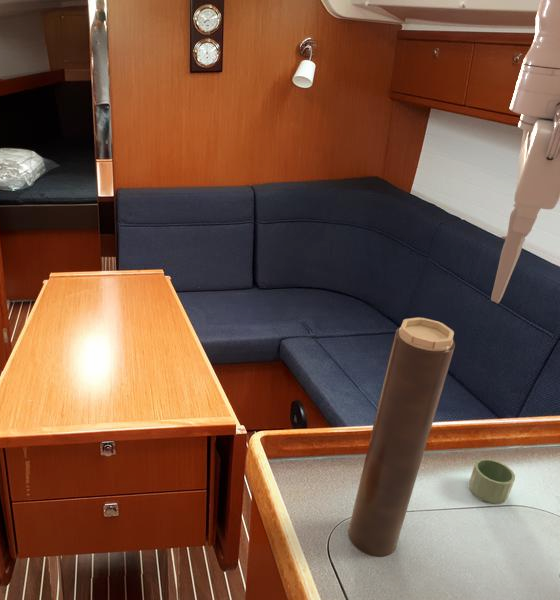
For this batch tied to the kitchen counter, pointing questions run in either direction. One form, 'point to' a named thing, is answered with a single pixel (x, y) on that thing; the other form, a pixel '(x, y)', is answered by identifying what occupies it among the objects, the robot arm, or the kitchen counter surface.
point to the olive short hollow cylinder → (491, 481)
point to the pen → (508, 258)
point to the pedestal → (397, 445)
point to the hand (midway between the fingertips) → (520, 226)
